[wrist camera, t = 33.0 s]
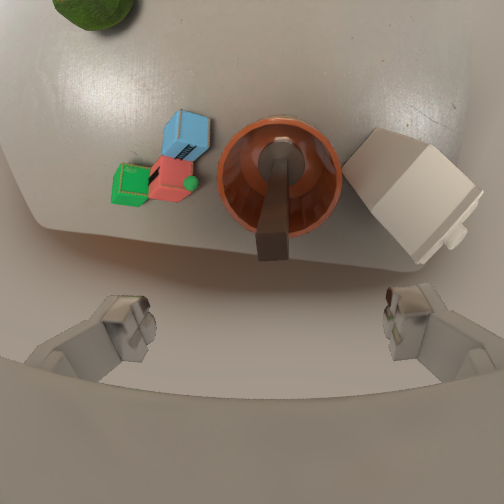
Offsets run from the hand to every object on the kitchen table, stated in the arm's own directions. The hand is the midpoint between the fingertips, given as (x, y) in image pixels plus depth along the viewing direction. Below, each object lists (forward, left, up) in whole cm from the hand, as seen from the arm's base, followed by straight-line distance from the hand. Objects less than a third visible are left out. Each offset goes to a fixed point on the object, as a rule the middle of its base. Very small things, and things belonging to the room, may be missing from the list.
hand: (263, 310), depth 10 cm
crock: (0, 0, -29) cm, 29 cm away
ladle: (0, 0, -28) cm, 28 cm away
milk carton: (-12, +2, -29) cm, 31 cm away
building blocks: (+14, -2, -29) cm, 32 cm away
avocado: (+18, -24, -29) cm, 42 cm away
